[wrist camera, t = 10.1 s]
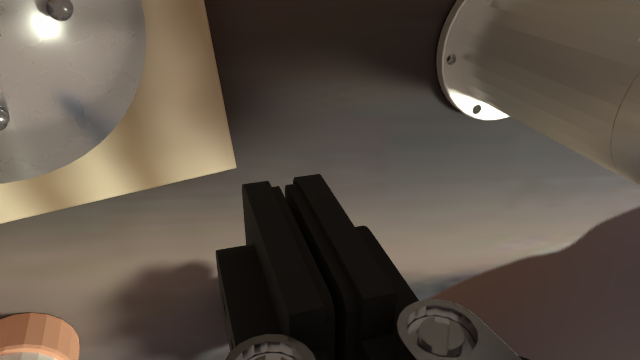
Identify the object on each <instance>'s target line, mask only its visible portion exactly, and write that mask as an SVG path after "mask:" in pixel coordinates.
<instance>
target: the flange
mask: <svg viewBox="0 0 640 360" xmlns="http://www.w3.org/2000/svg"><path fill="white" fill-rule="evenodd" d="M145 50H146V29H145V17H144V12H143V7H142V2H141V0H0V184H4V183H10V182H15V181H21V180H27V179H30V178H34V177H37V176H40V175H44V174H47V173H50V172H52V171H55V170H57V169H59V168H62V167H64V166H66V165H68V164H70V163H72V162H73V161H75V160H77V159H79V158H80V157H82V156H84V155H85V154H87V153H88V152H89V151H91V150H92V149H93V148H95V147H96V146H97V145H98V144H100V143H101V142H102V141H103V140H104V139H105V138H106V137H107V136H108V135H109V134H110V133H111V132H112V131H113V130H114V128H115V127H116V126H117V124H118V123H119V122H120V120H121V119H122V118H123V116H124V115H125V113H126V112H127V110H128V108H129V106H130V104H131V102H132V101H133V99H134V97H135V94H136V91H137V88H138V86H139V83H140V80H141V76H142V71H143V66H144V62H145Z"/></svg>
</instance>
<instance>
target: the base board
mask: <svg viewBox="0 0 640 360" xmlns="http://www.w3.org/2000/svg"><path fill="white" fill-rule="evenodd" d="M141 2H142V7H143V12H144V17H145V29H146V50H145V62H144V66H143V71H142V76H141V80H140V83H139V86H138V88H137V91H136V94H135V97H134V99H133V101H132V102H131V104H130V106H129V108H128V110H127V112H126V113H125V115H124V116H123V118H122V119H121V120H120V122H119V123H118V124H117V126H116V127H115V128H114V130H113V131H112V132H111V133H110V134H109V135H108V136H107V137H106V138H105V139H104V140H103V141H102V142H101V143H100V144H98V145H97V146H96V147H95V148H93V149H92V150H91V151H89V152H88V153H87V154H85V155H84V156H82V157H80V158H79V159H77V160H75V161H73V162H72V163H70V164H68V165H66V166H64V167H62V168H59V169H57V170H55V171H52V172H50V173H47V174H44V175H40V176H37V177H34V178H30V179H27V180H21V181H15V182H10V183H4V184H0V223H5V222H9V221H13V220H17V219H21V218H26V217H30V216H34V215H38V214H43V213H47V212H51V211H55V210H60V209H64V208H68V207H72V206H77V205H81V204H85V203H89V202H94V201H98V200H102V199H106V198H110V197H115V196H119V195H123V194H127V193H132V192H136V191H140V190H144V189H149V188H153V187H157V186H161V185H166V184H170V183H174V182H178V181H183V180H187V179H191V178H195V177H199V176H204V175H208V174H212V173H216V172H221V171H225V170H229V169H233V168H236V163H235V158H234V153H233V148H232V143H231V137H230V132H229V127H228V122H227V117H226V112H225V107H224V101H223V96H222V91H221V86H220V81H219V76H218V71H217V65H216V60H215V55H214V50H213V45H212V40H211V35H210V29H209V24H208V19H207V14H206V9H205V4H204V0H141Z"/></svg>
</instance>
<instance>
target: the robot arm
mask: <svg viewBox="0 0 640 360" xmlns="http://www.w3.org/2000/svg"><path fill="white" fill-rule="evenodd" d="M436 65H437V75H438V79H439V83H440V86H441V89H442V91H443V93H444V95H445V96H446V98H447V100H448V101H449V102H450V103H451V104H452V105H453V106H454V107H455V108H456V109H458V110H459V111H461V112H462V113H464V114H466V115H468V116H470V117H472V118H475V119H480V120H498V119H502V118H506V117H509V116H510V117H512V118H514V119H516V120H517V121H519V122H521V123H523V124H525V125H527V126H529V127H530V128H532V129H534V130H536V131H538V132H540V133H542V134H543V135H545V136H547V137H549V138H551V139H553V140H555V141H556V142H558V143H560V144H562V145H564V146H566V147H568V148H569V149H571V150H573V151H575V152H577V153H579V154H581V155H582V156H584V157H586V158H588V159H590V160H592V161H594V162H595V163H597V164H599V165H601V166H603V167H605V168H607V169H608V170H610V171H612V172H614V173H616V174H618V175H620V176H622V177H624V178H626V179H628V180H630V181H631V182H633V183H635V184H637V185H639V186H640V5H634V4H629V3H624V2H618V1H613V0H457V1H456V3H455V4H454V6H453V8H452V9H451V11H450V13H449V14H448V16H447V19H446V21H445V24H444V26H443V28H442V31H441V35H440V39H439V43H438V47H437V59H436ZM242 196H243V209H244V222H245V235H246V245H245V246H239V247H233V248H227V249H221V250H216V261H217V270H218V278H219V287H220V294H221V301H222V307H223V314H224V320H225V325H226V331H227V336H228V341H229V347H230V352H229V354H228V355H227V357H226V358H225V360H529V359H526V358H523V357H520V356H518V355H517V354H516V353H515V352H514V351H513V350H511V349H510V348H509V347H508V346H507V345H506V344H505V343H504V342H503V341H502V340H501V339H500V338H499V337H498V336H497V335H496V334H495V333H494V332H492V330H491V329H490V328H489V327H487V326H486V325H485V324H484V323H483V322H482V321H481V320H480V319H479V318H478V317H477V316H475V315H474V314H473V313H472V312H470V311H469V310H468V309H466V308H464V307H462V306H460V305H458V304H456V303H453V302H449V301H445V300H438V299H426V300H422V301H419V300H418V299H417V297H416V296H415V294H414V293H413V291H412V290H411V289H410V287H409V286H408V284H407V283H406V281H405V280H404V278H403V277H402V276H401V274H400V273H399V271H398V270H397V268H396V267H395V265H394V264H393V263H392V261H391V260H390V258H389V257H388V255H387V254H386V253H385V251H384V250H383V248H382V247H381V245H380V244H379V242H378V241H377V240H376V238H375V237H374V235H373V234H372V232H371V231H370V230H369V229H368V228H367V227H366V226H358V227H354V225H353V224H352V222H351V221H350V219H349V217H348V216H347V214H346V213H345V211H344V210H343V208H342V207H341V205H340V204H339V202H338V201H337V199H336V198H335V196H334V194H333V193H332V191H331V190H330V188H329V187H328V185H327V184H326V182H325V181H324V179H323V178H322V176H321V175H320V174H316V175H308V176H301V177H295V178H294V180H293V184H291V185H286V186H285V197H284V195H283V193H282V191H281V189H280V187H279V186H276V187H271V185H270V183H269V181H264V182H257V183H249V184H243V185H242Z"/></svg>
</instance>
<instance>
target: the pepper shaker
mask: <svg viewBox="0 0 640 360" xmlns="http://www.w3.org/2000/svg"><path fill="white" fill-rule="evenodd" d="M79 347H80V346H79V338H78V335H77V334H76V332H75V330H74V329H73V327H72V326H70V325H69V324H67V323H66V322H65V321H63V320H62V319H59V318H56V317H54V316H51V315H48V314H38V313H25V314H17V315H12V316H9V317H6V318H3V319H0V360H78V358H79Z"/></svg>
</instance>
